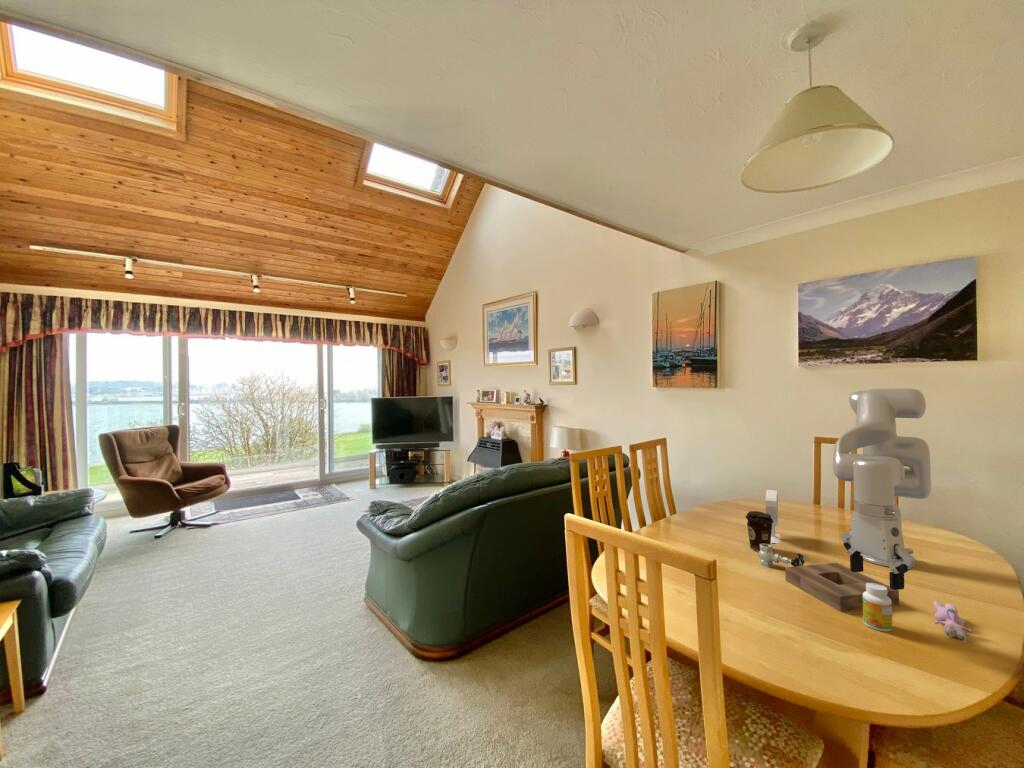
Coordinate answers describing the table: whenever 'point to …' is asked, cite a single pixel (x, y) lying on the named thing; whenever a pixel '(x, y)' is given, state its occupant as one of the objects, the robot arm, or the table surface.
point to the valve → (776, 557)
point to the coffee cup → (759, 529)
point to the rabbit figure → (950, 621)
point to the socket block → (835, 585)
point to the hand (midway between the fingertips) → (876, 579)
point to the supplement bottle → (877, 607)
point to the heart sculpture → (773, 512)
